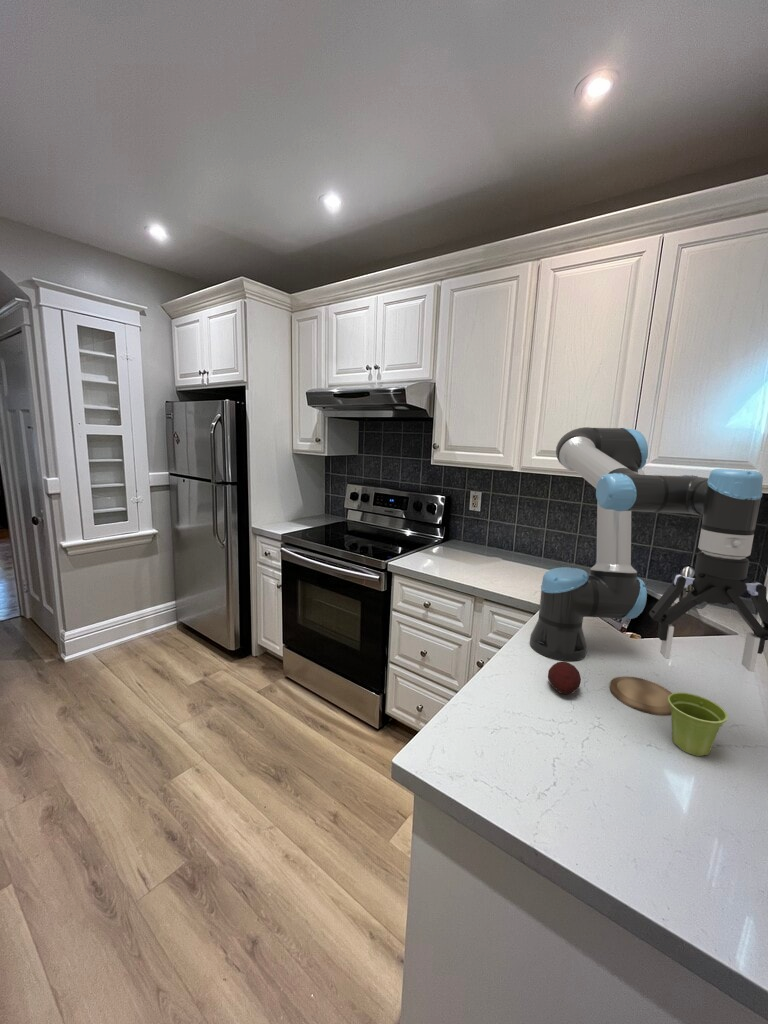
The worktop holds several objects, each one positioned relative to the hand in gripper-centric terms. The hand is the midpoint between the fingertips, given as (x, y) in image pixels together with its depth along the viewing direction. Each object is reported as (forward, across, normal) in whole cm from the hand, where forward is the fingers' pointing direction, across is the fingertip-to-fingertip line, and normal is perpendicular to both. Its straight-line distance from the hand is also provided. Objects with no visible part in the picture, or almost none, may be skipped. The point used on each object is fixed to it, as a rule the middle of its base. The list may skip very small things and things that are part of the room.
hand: (705, 661), depth 80 cm
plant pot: (+18, 0, 0) cm, 18 cm away
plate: (+18, -4, +16) cm, 25 cm away
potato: (+18, -22, +13) cm, 32 cm away
